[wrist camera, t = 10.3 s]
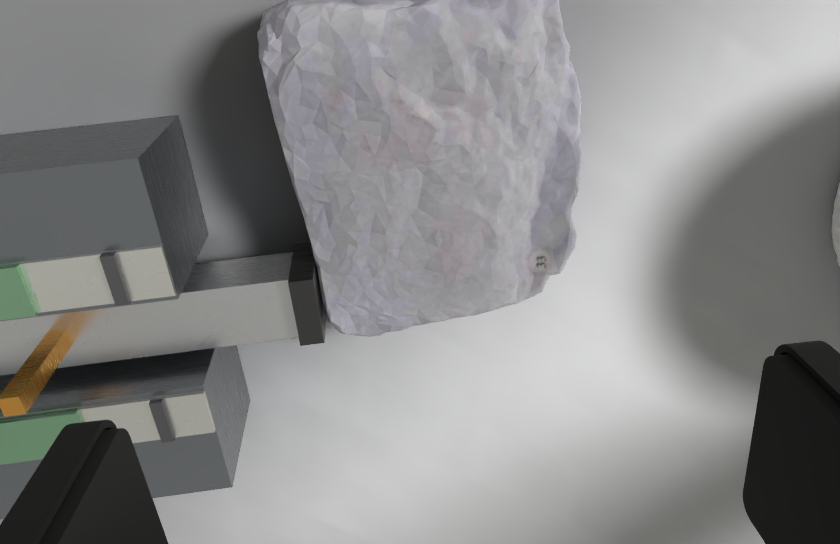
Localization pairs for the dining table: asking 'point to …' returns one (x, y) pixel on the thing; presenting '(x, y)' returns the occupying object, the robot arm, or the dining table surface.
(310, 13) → the stone block
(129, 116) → the dining table surface
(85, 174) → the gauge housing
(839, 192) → the ramekin
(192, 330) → the bar with dark endcap
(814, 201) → the dining table surface
